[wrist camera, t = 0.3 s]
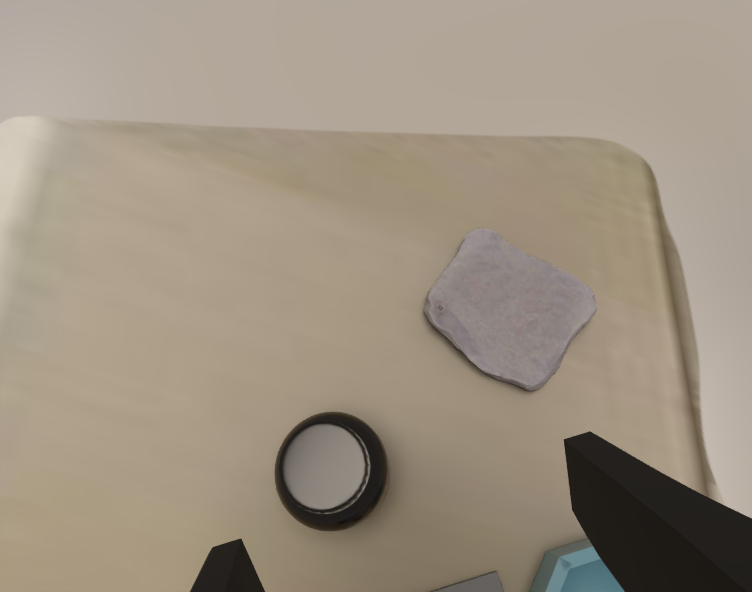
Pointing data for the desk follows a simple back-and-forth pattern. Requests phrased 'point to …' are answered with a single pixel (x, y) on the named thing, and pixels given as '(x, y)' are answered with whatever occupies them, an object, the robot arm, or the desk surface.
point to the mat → (476, 584)
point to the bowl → (574, 571)
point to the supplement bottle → (331, 471)
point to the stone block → (508, 309)
